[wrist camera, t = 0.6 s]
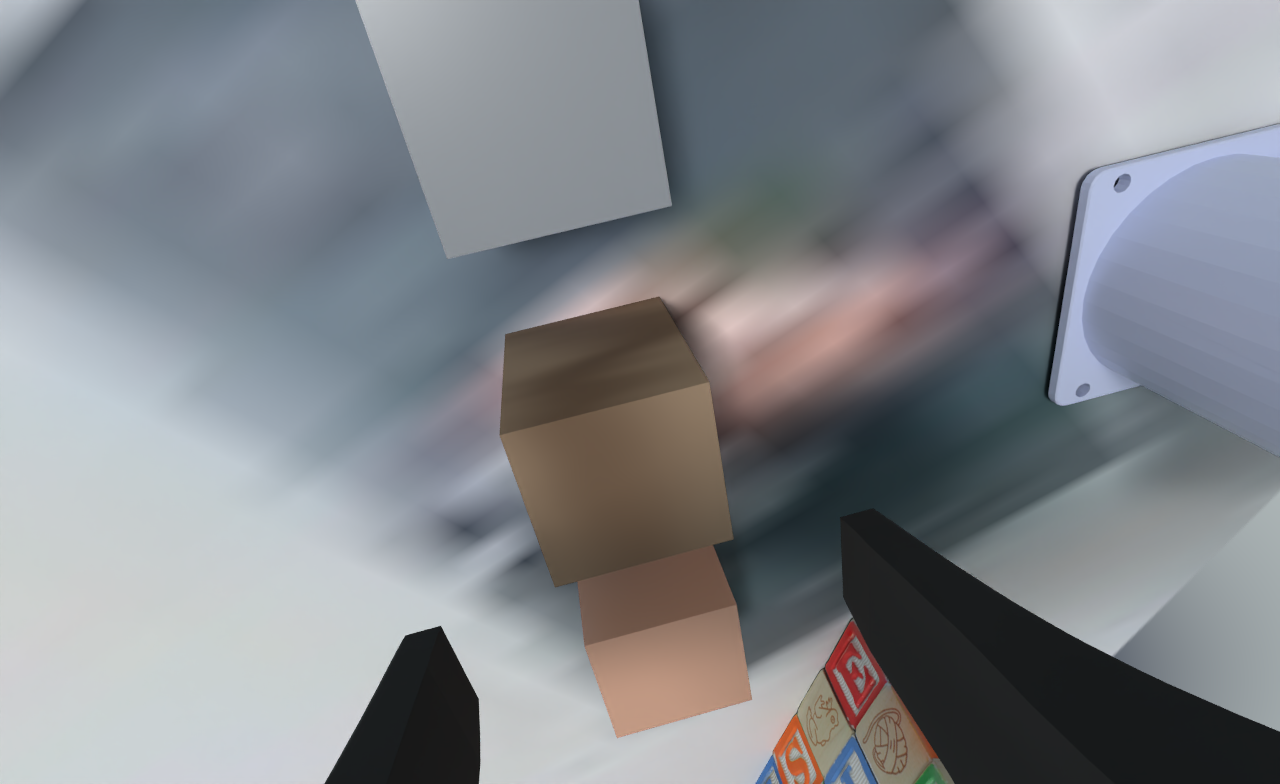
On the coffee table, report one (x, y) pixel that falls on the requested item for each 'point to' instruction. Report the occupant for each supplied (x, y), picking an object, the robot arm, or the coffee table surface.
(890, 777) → the stack of blocks
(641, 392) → the walnut block
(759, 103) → the coffee table surface
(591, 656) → the terracotta cube
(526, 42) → the grey cube
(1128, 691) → the robot arm
